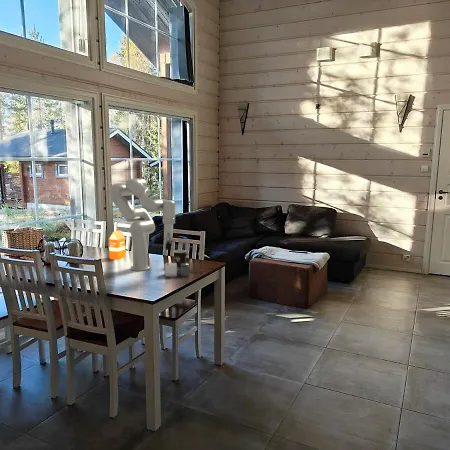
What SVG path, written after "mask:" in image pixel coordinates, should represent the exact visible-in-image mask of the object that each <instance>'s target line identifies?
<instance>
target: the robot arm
mask: <svg viewBox="0 0 450 450" xmlns="http://www.w3.org/2000/svg"><path fill="white" fill-rule="evenodd" d="M150 193H151V192H150V189H149V188H148V183H147V181H146V180H145V179H144V178H141V177H139V178H129V179H127V180H126V182H121V183H115V184H113V185H111V186H110V188H109V196H110V199H111V201H112V203H113V204H114V205H115V206H116V207H117V209H118V210H119V212H120V213H121V215H122V217H123V219H124V220H125V221H126V222H127V223H129V224H131V225H130V226H129V231H130V236H131V249H132V266H130V270H131V271H135V272H143V271H147V270H150V269H151V265H148V263H149V262H148V242H147V239H146V237H145V235H149V234H153V233H154V232H155V231H156V224H155V222H154V220H153V218H152V217H151V216H150V214H149V212H150V213H156V212H157V213H158V212H162V224H164V225H163V240H165V250H166V251H171V250H172V246H173V234H174V224H176V202H175V201H174V200H168V199H165V198H157V199H151V198H150V197H149V196H150ZM128 196H135V197H136V198H138V199H139V203H140V205H141V206H142V207H141V206H137V207H134V206H133V205H132V204H131V201H129V200H128V199H127V198H126V197H128Z"/></svg>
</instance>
